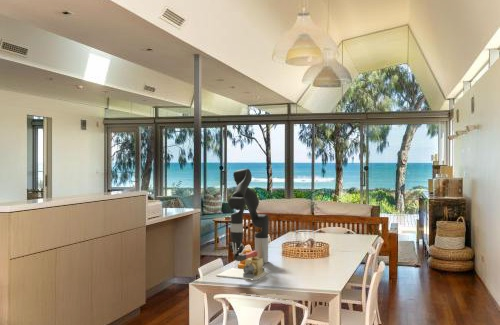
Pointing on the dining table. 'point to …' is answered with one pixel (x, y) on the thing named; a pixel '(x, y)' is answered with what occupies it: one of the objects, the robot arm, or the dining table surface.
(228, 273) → the base plate
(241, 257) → the lever
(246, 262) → the valve
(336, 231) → the dining table surface
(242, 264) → the bracket
